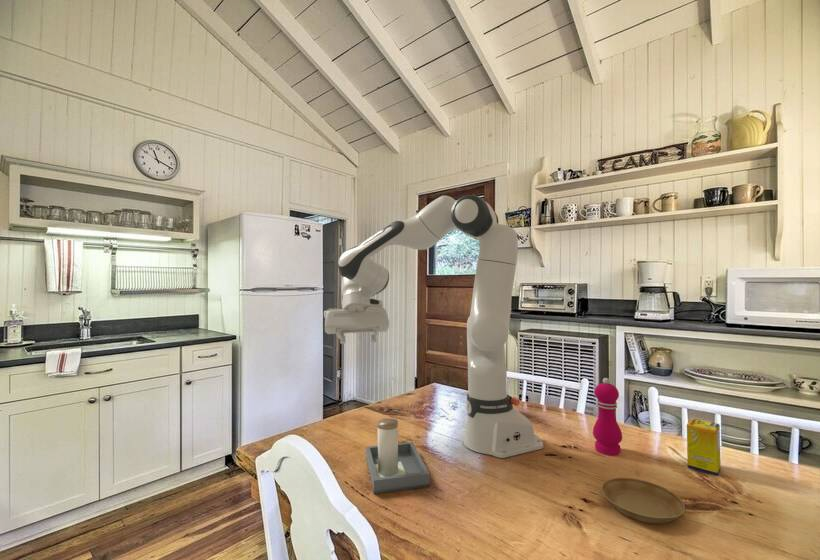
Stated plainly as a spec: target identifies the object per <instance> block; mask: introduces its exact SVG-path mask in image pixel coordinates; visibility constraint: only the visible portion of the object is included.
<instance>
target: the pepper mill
mask: <svg viewBox="0 0 820 560" xmlns="http://www.w3.org/2000/svg"><path fill="white" fill-rule="evenodd" d="M593 393H594V396H595V397H596V399H597V400H596V406H597V407H598V415H597V416H598V417H597V419H596V421H595V423H594V425H593V429H592V436H593V438H594V439H595V441H594V449H595V450H596V452H598V453H600V454H602V455H607V456H618V455H620V454H621V449H622V448H621V445H620V443H621V442H622V441H623V433H622V430H621V428H620V426H619V424H618V421H617V419H616V418H617V417H616V409H617V408H618V406H617V405H618V402H617V400H619V397H620V392H619V390H618V388H617V387H616V386H615V385H614V384H612V383H611V380H610V379H609V377H604V378H603V379H602V382H601V383H599V384H597V385H596V386H595V388H594V392H593Z"/></svg>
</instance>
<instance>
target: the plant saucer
mask: <svg viewBox="0 0 820 560" xmlns="http://www.w3.org/2000/svg"><path fill="white" fill-rule="evenodd" d="M600 490H601V493H602V495H603V496H604V497H605V499H606V500H607V501H608V502H609V503H610V505H611V506H613V507H614V508H615V509H616V510H617V511H618V512H620V513H621V514H623V515H624V516H627V518H630V519H633V520H636V521H638V522H643V523H647V524H655V525H657V524H658V525H661V524H667V523H670V522H672V521H675V520H676V519H678V518H679V517H681V516H682V514H684V512H685V510H686V506H685V503H684V501H682V499H681V498H680V497H679V496H678V495H676V494H675V493H674V492H672V491H670V490H669V489H667V488H665V487H663V486H661V485H658V484H656V483H653V482H649V481H647V480H642V479H638V478H632V477H615V478H609V479H607V480H605V481H604V482H603V483H602V484H601V488H600Z"/></svg>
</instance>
